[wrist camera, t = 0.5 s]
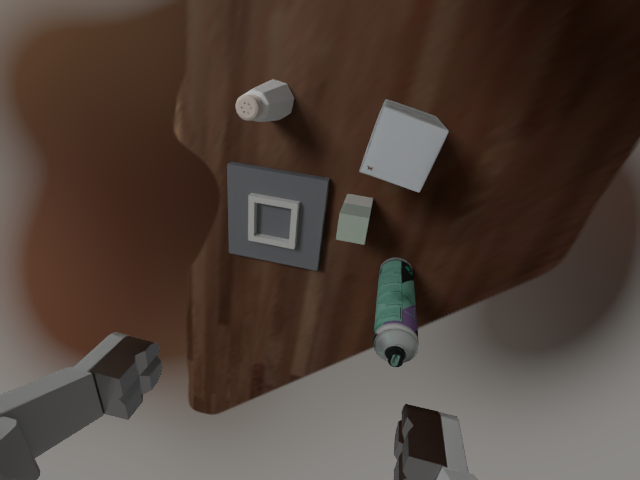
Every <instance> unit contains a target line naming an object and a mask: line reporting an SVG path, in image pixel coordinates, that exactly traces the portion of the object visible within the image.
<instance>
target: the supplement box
mask: <svg viewBox="0 0 640 480" xmlns="http://www.w3.org/2000/svg"><path fill="white" fill-rule="evenodd" d="M448 132H449V131H448V130H447V128H446V127H445V126H444V125H443V124H442V123H441V121H440V120H439V119H438V118H437V117H436V116H434V115H431V114H428V113H425V112H422V111H420V110H417V109H414V108H411V107H408V106H405V105H403V104H400V103H397V102H394V101H391V100H388V99H386V100H385V101H384V104H383V106H382V108H381V111H380V113H379V116H378V118H377V121H376V124H375V126H374V129H373V132H372V135H371V138H370V140H369V143H368V146H367V149H366V152H365V155H364V158H363V161H362V164H361V167H360V170H359V172H361V173H364V174H367V175H370V176H373V177H376V178H379V179H381V180H384V181H387V182H390V183H393V184H396V185H399V186H402V187H404V188H407V189H410V190H413V191H415V192H420V191H421V189H422V187H423V185H424V183H425V181H426V179H427V177H428V175H429V173H430V171H431V169H432V167H433V164H434V162H435V160H436V158H437V156H438V154H439V152H440V150H441V148H442V145H443V143H444V141H445V139H446V137H447V135H448Z"/></svg>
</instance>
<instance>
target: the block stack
mask: <svg viewBox="0 0 640 480" xmlns="http://www.w3.org/2000/svg"><path fill="white" fill-rule="evenodd" d="M372 202H373V198H369V197H364V196H358V195H352V194H347V196H346V199H345V201H344V204H343V206H342V209H341V211H340V214H339V221H338V228H337V235H336V239H337V240H342V241H347V242H352V243H358V244H363V245H364V244H365V239H366V233H367V228H368V223H369V218H370V213H371V207H372Z"/></svg>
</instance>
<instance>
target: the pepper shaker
mask: <svg viewBox="0 0 640 480" xmlns="http://www.w3.org/2000/svg"><path fill="white" fill-rule="evenodd" d="M293 102H294V96H293V94H292V92H291V91H290V89H289V87H288V85H287V84H286V83H283V82H280V81H277V80H274V79H272V80H270V81H268V82H266V83H264V84H261V85H259V86H257V87H255V88H253V89H251V90H250V91H248V92H247V93H245V94H244V95H242V96H240V97H239V98H238V99H237V102H236V111H237V113H238V115H239V116H240V117H241V118H242V119H244V120H247V121H251V120H254V121H257V122H265V121H276V120H281V119H282V118H284V117H286V116H287V115H289V114H290V113H291V111H292V107H293Z"/></svg>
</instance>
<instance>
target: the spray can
mask: <svg viewBox="0 0 640 480" xmlns="http://www.w3.org/2000/svg"><path fill="white" fill-rule="evenodd" d="M373 343H374V349H375V351H376V353H377V355H378V356H379V357H381V358H382V359H384V360H386V361H388V363H389V364H390V365H391V366H393V367H399V366H401V365H402V364H403V363H404V362H407V361H410V360H411V359H413V358H414V357H415V355H416V354H417V351H418V330H417V316H416V303H415V290H414V277H413V269H412V266H411V265H410V263H409V262H408V261H406V260H404V259H402V258H390V259H387V260H386V261H384V262H383V263H382V265H381V267H380V271H379V281H378V292H377V303H376V314H375V325H374V336H373Z"/></svg>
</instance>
